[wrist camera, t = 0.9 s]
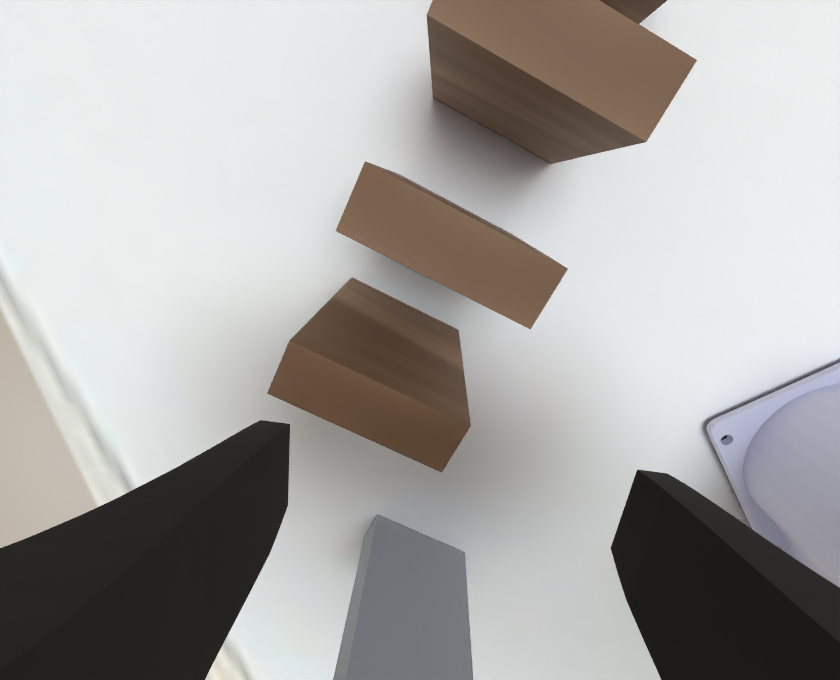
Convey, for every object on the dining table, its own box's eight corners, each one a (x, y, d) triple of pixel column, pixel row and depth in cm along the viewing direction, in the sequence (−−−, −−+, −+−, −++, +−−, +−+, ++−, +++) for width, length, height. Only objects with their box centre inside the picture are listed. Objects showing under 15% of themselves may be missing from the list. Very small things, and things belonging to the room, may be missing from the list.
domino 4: (450, 573, 23) (454, 759, 16) (364, 536, 23) (326, 711, 15) (464, 552, 23) (477, 734, 15) (377, 514, 22) (344, 683, 15)
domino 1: (551, 163, 16) (645, 142, 9) (433, 97, 16) (426, 15, 8) (575, 121, 16) (696, 59, 8) (453, 51, 15) (466, -82, 8)
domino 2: (492, 270, 18) (530, 329, 10) (381, 212, 17) (336, 231, 10) (511, 234, 17) (567, 268, 10) (398, 174, 17) (365, 161, 9)
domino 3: (440, 360, 19) (441, 472, 12) (336, 310, 19) (267, 393, 11) (458, 329, 19) (470, 425, 11) (351, 277, 18) (289, 340, 11)
